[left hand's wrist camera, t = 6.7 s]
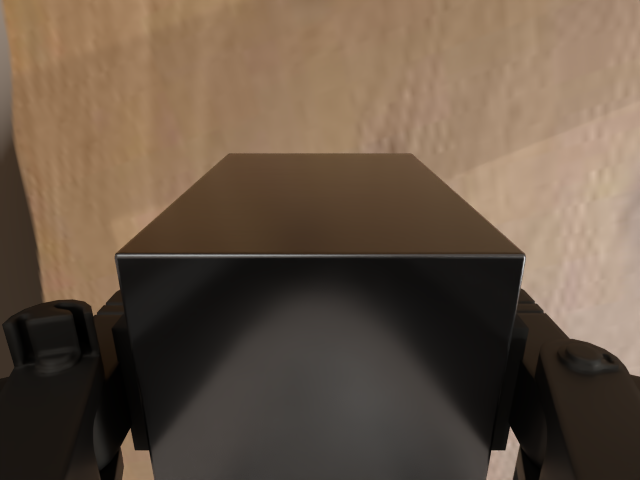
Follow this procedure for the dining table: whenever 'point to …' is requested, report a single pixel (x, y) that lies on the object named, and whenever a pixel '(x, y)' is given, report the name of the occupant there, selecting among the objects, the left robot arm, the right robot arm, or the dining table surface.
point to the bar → (320, 323)
